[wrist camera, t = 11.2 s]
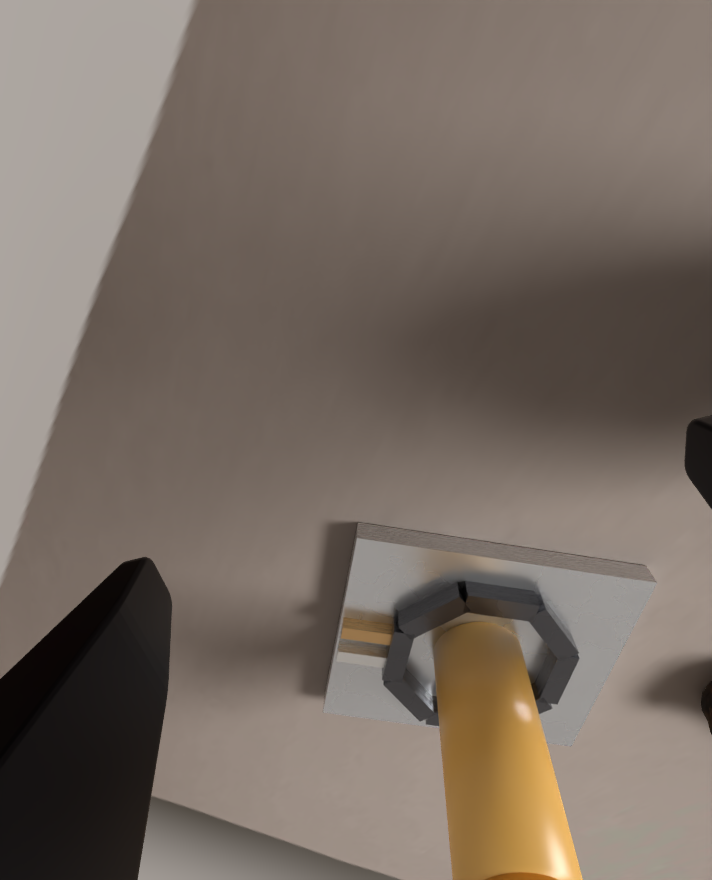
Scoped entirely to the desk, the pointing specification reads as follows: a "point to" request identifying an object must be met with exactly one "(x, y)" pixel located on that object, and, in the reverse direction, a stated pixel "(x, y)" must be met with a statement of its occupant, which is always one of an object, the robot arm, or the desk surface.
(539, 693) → the plate
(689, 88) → the desk surface
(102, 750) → the robot arm
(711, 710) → the hand tool
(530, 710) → the domed yellow peg
